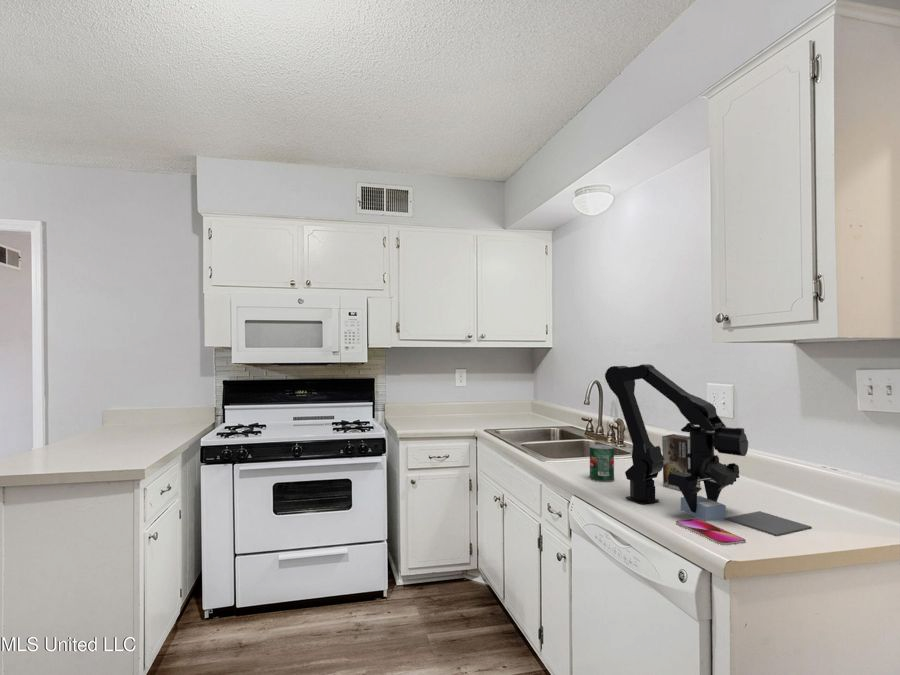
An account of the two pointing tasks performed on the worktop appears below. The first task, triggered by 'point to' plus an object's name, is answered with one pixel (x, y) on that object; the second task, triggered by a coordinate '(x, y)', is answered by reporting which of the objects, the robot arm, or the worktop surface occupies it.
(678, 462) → the coffee box
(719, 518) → the card box
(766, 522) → the mat
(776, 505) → the worktop surface
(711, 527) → the smartphone
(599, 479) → the canned tomato
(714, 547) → the worktop surface
